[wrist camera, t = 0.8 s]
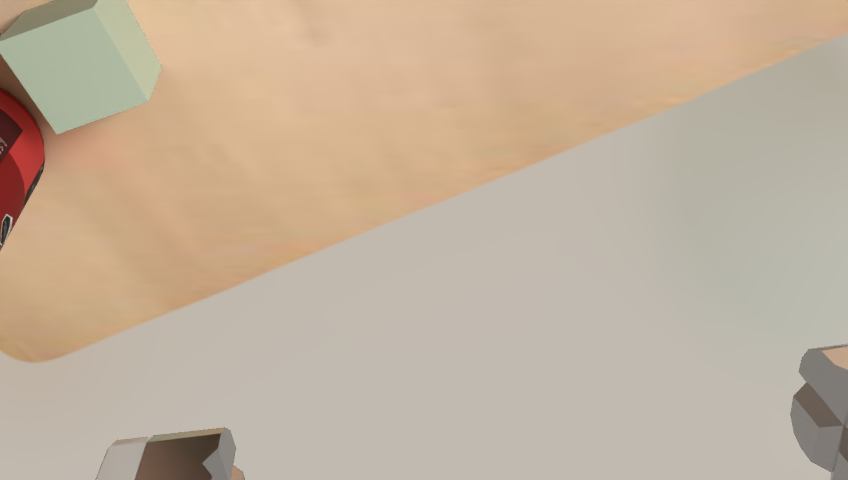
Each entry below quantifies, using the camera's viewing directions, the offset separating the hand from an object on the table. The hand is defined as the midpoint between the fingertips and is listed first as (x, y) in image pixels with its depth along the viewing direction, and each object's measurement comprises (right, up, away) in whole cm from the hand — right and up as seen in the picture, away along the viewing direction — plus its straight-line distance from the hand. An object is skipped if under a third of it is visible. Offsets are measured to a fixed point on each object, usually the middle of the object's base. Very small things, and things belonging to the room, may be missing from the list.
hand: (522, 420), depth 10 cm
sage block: (-19, +13, +28) cm, 37 cm away
